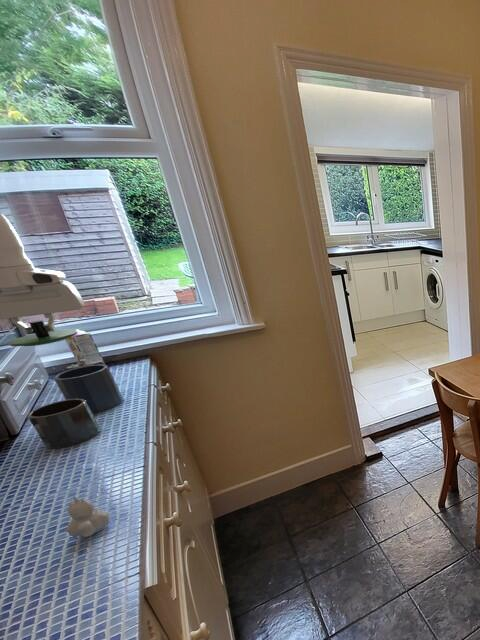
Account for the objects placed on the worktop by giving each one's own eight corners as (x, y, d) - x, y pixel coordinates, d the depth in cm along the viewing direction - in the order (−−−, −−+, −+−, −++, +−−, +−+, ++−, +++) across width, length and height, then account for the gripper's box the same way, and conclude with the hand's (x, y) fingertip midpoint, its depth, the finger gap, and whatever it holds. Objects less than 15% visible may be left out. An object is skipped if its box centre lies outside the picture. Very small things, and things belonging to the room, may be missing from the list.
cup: (39, 453, 101) (20, 422, 98) (53, 435, 109) (35, 406, 106) (95, 440, 106) (78, 409, 103) (104, 424, 114) (89, 395, 111)
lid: (2, 352, 100) (-10, 331, 98) (21, 339, 109) (10, 320, 107) (71, 341, 106) (61, 322, 104) (83, 330, 115) (75, 312, 113)
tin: (68, 419, 118) (48, 382, 114) (79, 404, 127) (60, 370, 122) (119, 407, 124) (102, 372, 119) (126, 394, 133) (110, 361, 128)
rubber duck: (115, 516, 79) (96, 482, 76) (112, 535, 74) (91, 500, 71) (76, 529, 76) (55, 495, 73) (70, 551, 71) (47, 515, 68)
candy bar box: (82, 375, 151) (60, 332, 144) (100, 370, 155) (79, 328, 148) (93, 380, 145) (71, 336, 139) (111, 375, 149) (90, 332, 142)
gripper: (-58, 286, 93) (-23, 343, 99) (64, 274, 103) (90, 327, 109) (-44, 282, 98) (-12, 337, 104) (71, 271, 108) (95, 322, 114)
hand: (41, 332), depth 107 cm, fingers closed on lid, 2 cm apart
